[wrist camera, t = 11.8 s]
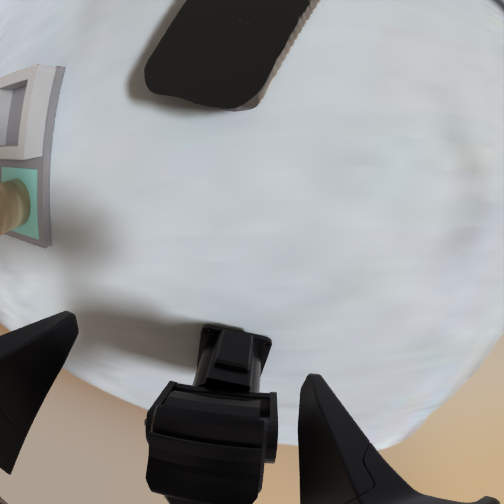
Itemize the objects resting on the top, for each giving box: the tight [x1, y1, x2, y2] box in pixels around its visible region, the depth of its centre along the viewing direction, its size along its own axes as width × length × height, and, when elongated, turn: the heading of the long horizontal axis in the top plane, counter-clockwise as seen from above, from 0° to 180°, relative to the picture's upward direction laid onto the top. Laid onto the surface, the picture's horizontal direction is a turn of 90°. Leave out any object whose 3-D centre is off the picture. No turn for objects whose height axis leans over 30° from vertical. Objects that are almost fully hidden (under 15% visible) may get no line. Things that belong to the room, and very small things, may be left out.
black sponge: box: [144, 0, 320, 111], centre depth 13 cm, size 16×8×4 cm, turn 154°
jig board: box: [0, 64, 65, 248], centre depth 17 cm, size 18×9×4 cm, turn 168°
